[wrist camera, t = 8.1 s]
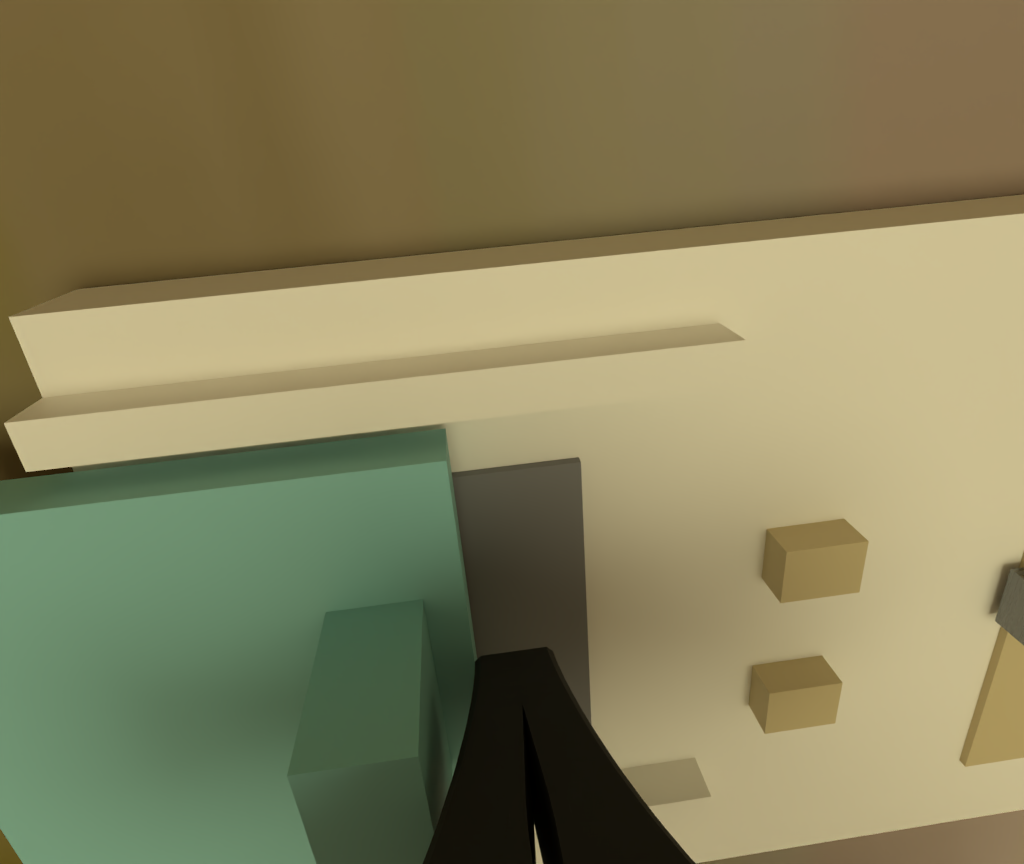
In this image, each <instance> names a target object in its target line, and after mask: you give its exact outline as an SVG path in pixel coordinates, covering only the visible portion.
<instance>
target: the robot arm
mask: <svg viewBox="0 0 1024 864" xmlns="http://www.w3.org/2000/svg"><path fill="white" fill-rule="evenodd" d="M534 825H535V830H536V834H537V839H538V843H539V848H540V852H541V857H542V861H543V864H696V863H695V862H694V861H693V860H692V859H691V858H690V857H689V855H688V854H687V853H686V852H685V851H684V850H683V848H682V847H681V846H680V845H679V844H678V842H677V841H676V840H675V839H674V838H673V836H672V835H671V834H670V833H669V832H668V831H667V829H666V828H665V827H664V826H663V824H662V823H661V822H660V821H659V819H658V818H657V817H656V816H655V814H654V813H653V812H652V811H651V809H650V808H649V807H648V805H647V804H646V803H645V802H644V800H643V799H642V798H641V796H640V795H639V794H638V792H637V791H636V789H635V788H634V787H633V785H632V784H631V783H630V781H629V780H628V779H627V777H626V776H625V775H624V773H623V772H622V770H621V769H620V767H619V766H618V765H617V763H616V762H615V760H614V759H613V757H612V756H611V755H610V753H609V751H608V750H607V748H606V747H605V745H604V744H603V742H602V741H601V739H600V738H599V736H598V735H597V733H596V731H595V730H594V728H593V727H592V725H591V724H590V722H589V720H588V719H587V717H586V716H585V714H584V712H583V711H582V709H581V707H580V705H579V704H578V702H577V700H576V698H575V696H574V695H573V693H572V691H571V689H570V687H569V685H568V684H567V682H566V680H565V678H564V676H563V674H562V672H561V669H560V667H559V665H558V663H557V660H556V658H555V655H554V652H553V651H552V650H551V649H549V648H548V647H541V648H533V649H526V650H519V651H512V652H504V653H497V654H490V655H483V656H480V657H479V658H478V659H477V660H476V661H475V675H474V685H473V692H472V698H471V704H470V709H469V714H468V719H467V724H466V728H465V732H464V736H463V740H462V744H461V748H460V752H459V755H458V759H457V763H456V767H455V770H454V774H453V777H452V780H451V783H450V787H449V790H448V793H447V796H446V799H445V802H444V805H443V808H442V811H441V814H440V817H439V820H438V823H437V826H436V829H435V832H434V835H433V837H432V840H431V843H430V845H429V848H428V851H427V853H426V856H425V859H424V861H423V864H536V851H535V833H534Z"/></svg>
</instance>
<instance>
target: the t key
mask: <svg viewBox="0 0 1024 864" xmlns="http://www.w3.org/2000/svg"><path fill="white" fill-rule="evenodd" d="M995 621H996V622H997V623H998V624H999V625H1000V626H1001V627H1003V628H1004V629H1005V630H1006V631H1007V632H1008V633H1010V634H1011V635H1012V636H1013V637H1014V638H1015V639H1017V640H1018V641H1019V642H1020V643H1021V644H1022V645H1024V567H1023V568H1016V569H1010V573H1009V576H1008V579H1007V582H1006V586H1005V589H1004V592H1003V596H1002V599H1001V602H1000V606H999V609H998V612H997V615H996V619H995Z"/></svg>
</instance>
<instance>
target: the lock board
mask: <svg viewBox="0 0 1024 864" xmlns="http://www.w3.org/2000/svg"><path fill="white" fill-rule="evenodd" d="M9 319H10V321H11V324H12V326H13V328H14V331H15V333H16V336H17V338H18V340H19V343H20V345H21V348H22V350H23V352H24V355H25V357H26V359H27V362H28V364H29V367H30V369H31V371H32V374H33V376H34V379H35V381H36V383H37V386H38V388H39V390H40V393H41V395H42V399H40V400H39V401H37V402H35V403H34V404H32V405H31V406H29V407H28V408H26V409H25V410H23V411H22V412H20V413H18V414H17V415H15V416H14V417H12V418H11V419H9V420H8V421H6V422H5V423H4V425H5V427H6V429H7V432H8V434H9V436H10V438H11V440H12V443H13V445H14V447H15V449H16V451H17V454H18V456H19V458H20V460H21V462H22V465H23V467H24V469H25V471H26V472H31V471H39V470H48V469H57V468H65V467H72V469H73V471H74V472H79V471H87V470H96V469H104V468H113V467H121V466H130V465H138V464H147V463H155V462H164V461H172V460H181V459H189V458H198V457H206V456H215V455H223V454H232V453H241V452H249V451H258V450H266V449H275V448H283V447H292V446H300V445H309V444H317V443H326V442H334V441H343V440H351V439H360V438H368V437H377V436H385V435H394V434H402V433H411V432H419V431H428V430H436V429H445V428H446V435H447V443H448V450H449V457H450V465H451V472H452V479H453V486H454V494H455V501H456V508H457V516H458V523H459V530H460V538H461V545H462V552H463V559H464V567H465V574H466V581H467V589H468V596H469V603H470V610H471V618H472V625H473V632H474V640H475V647H476V654H477V659H478V658H479V657H480V656H483V655H490V654H497V653H504V652H512V651H519V650H526V649H533V648H541V647H548V648H549V649H551V650H552V651H553V652H554V655H555V658H556V660H557V663H558V665H559V667H560V669H561V672H562V674H563V676H564V678H565V680H566V682H567V684H568V685H569V687H570V689H571V691H572V693H573V695H574V696H575V698H576V700H577V702H578V704H579V705H580V707H581V709H582V711H583V712H584V714H585V716H586V717H587V719H588V720H589V722H590V724H591V725H592V727H593V728H594V730H595V731H596V733H597V735H598V736H599V738H600V739H601V741H602V742H603V744H604V745H605V747H606V748H607V750H608V751H609V753H610V755H611V756H612V757H613V759H614V760H615V762H616V763H617V765H618V766H619V767H620V769H621V770H622V772H623V773H624V775H625V776H626V777H627V779H628V780H629V781H630V783H631V784H632V785H633V787H634V788H635V789H636V791H637V792H638V794H639V795H640V796H641V798H642V799H643V800H644V802H645V803H646V804H647V805H648V807H649V808H650V809H651V811H652V812H653V813H654V814H655V816H656V817H657V818H658V819H659V821H660V822H661V823H662V824H663V826H664V827H665V828H666V829H667V831H668V832H669V833H670V834H671V835H672V836H673V838H674V839H675V840H676V841H677V842H678V844H679V845H680V846H681V847H682V848H683V850H684V851H685V852H686V853H687V854H688V855H689V857H690V858H691V859H692V860H693V861H694V862H695V863H701V862H707V861H713V860H719V859H725V858H731V857H738V856H744V855H750V854H756V853H762V852H768V851H774V850H780V849H786V848H792V847H798V846H804V845H811V844H817V843H823V842H829V841H835V840H841V839H847V838H853V837H859V836H865V835H871V834H878V833H884V832H890V831H896V830H902V829H908V828H914V827H920V826H926V825H932V824H938V823H944V822H951V821H957V820H963V819H969V818H975V817H981V816H987V815H993V814H999V813H1005V812H1011V811H1017V810H1024V645H1022V644H1021V643H1020V642H1019V641H1018V640H1017V639H1015V638H1014V637H1013V636H1012V635H1011V634H1010V633H1008V632H1007V631H1006V630H1005V629H1004V628H1003V627H1001V626H1000V625H999V624H998V623H997V622H996V621H995V619H996V615H997V612H998V609H999V606H1000V602H1001V599H1002V596H1003V592H1004V589H1005V586H1006V582H1007V579H1008V576H1009V573H1010V569H1016V568H1023V567H1024V194H1023V195H1013V196H1003V197H993V198H983V199H973V200H963V201H953V202H943V203H933V204H923V205H913V206H903V207H893V208H883V209H873V210H863V211H853V212H843V213H833V214H823V215H813V216H803V217H793V218H783V219H773V220H763V221H753V222H743V223H733V224H723V225H713V226H703V227H693V228H683V229H673V230H663V231H653V232H643V233H633V234H623V235H613V236H603V237H593V238H583V239H573V240H563V241H553V242H543V243H533V244H523V245H513V246H503V247H493V248H483V249H473V250H463V251H453V252H443V253H434V254H424V255H414V256H404V257H394V258H384V259H374V260H364V261H354V262H344V263H334V264H324V265H314V266H304V267H294V268H284V269H274V270H264V271H254V272H244V273H234V274H224V275H214V276H204V277H194V278H184V279H174V280H164V281H154V282H144V283H134V284H124V285H114V286H104V287H94V288H84V289H76V290H74V291H71V292H69V293H67V294H64V295H62V296H59V297H57V298H54V299H52V300H49V301H47V302H44V303H42V304H40V305H37V306H35V307H32V308H30V309H27V310H25V311H22V312H20V313H17V314H15V315H13V316H10V317H9ZM534 833H535V851H536V864H543V861H542V857H541V852H540V848H539V843H538V839H537V834H536V830H535V825H534Z"/></svg>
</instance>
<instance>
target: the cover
mask: <svg viewBox="0 0 1024 864" xmlns="http://www.w3.org/2000/svg"><path fill="white" fill-rule="evenodd" d="M476 660H477V654H476V647H475V640H474V632H473V625H472V618H471V610H470V603H469V596H468V589H467V581H466V574H465V567H464V559H463V552H462V545H461V538H460V530H459V523H458V516H457V508H456V501H455V494H454V486H453V479H452V472H451V465H450V457H449V450H448V443H447V435H446V428H445V429H436V430H428V431H419V432H411V433H402V434H394V435H385V436H377V437H368V438H360V439H351V440H343V441H334V442H326V443H317V444H309V445H300V446H292V447H283V448H275V449H266V450H258V451H249V452H241V453H232V454H223V455H215V456H206V457H198V458H189V459H181V460H172V461H164V462H155V463H147V464H138V465H130V466H121V467H113V468H104V469H96V470H87V471H79V472H70V473H62V474H53V475H45V476H36V477H28V478H19V479H11V480H2V481H0V829H1V830H2V832H3V833H4V835H5V836H6V838H7V839H8V841H9V842H10V844H11V846H12V847H13V849H14V850H15V852H16V853H17V855H18V856H19V858H20V859H21V861H22V863H23V864H423V861H424V859H425V856H426V853H427V851H428V848H429V845H430V843H431V840H432V837H433V835H434V832H435V829H436V826H437V823H438V820H439V817H440V814H441V811H442V808H443V805H444V802H445V799H446V796H447V793H448V790H449V787H450V783H451V780H452V777H453V774H454V770H455V767H456V763H457V759H458V755H459V752H460V748H461V744H462V740H463V736H464V732H465V728H466V724H467V719H468V714H469V709H470V704H471V698H472V692H473V685H474V675H475V661H476Z"/></svg>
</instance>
